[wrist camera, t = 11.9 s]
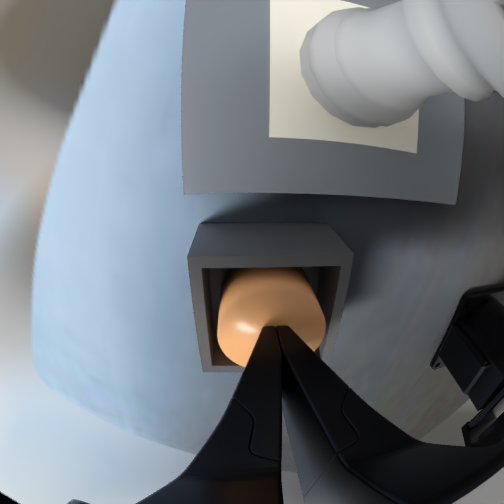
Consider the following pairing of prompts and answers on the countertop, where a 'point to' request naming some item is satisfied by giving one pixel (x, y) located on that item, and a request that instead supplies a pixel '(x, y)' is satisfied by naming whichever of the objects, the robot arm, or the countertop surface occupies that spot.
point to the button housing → (261, 256)
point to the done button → (266, 308)
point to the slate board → (297, 114)
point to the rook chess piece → (403, 57)
